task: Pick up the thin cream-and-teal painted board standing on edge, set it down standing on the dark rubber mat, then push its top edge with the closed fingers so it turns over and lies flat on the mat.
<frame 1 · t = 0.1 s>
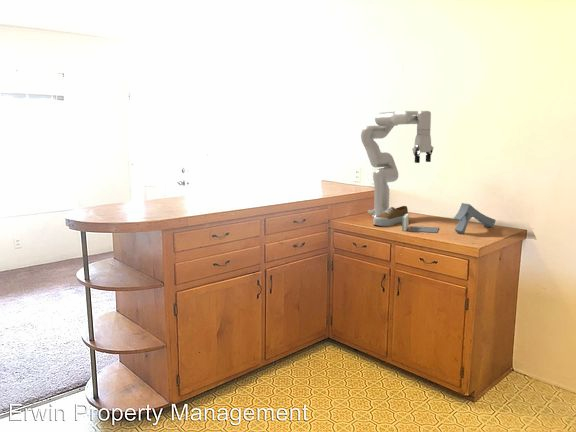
hand: (422, 162, 287), 37 cm above the table, tool pointing down, fingers open, 9 cm apart
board: (405, 229, 282), on the table
sneaker: (390, 223, 300), on the table
mat: (423, 229, 280), on the table
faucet: (474, 231, 276), on the table
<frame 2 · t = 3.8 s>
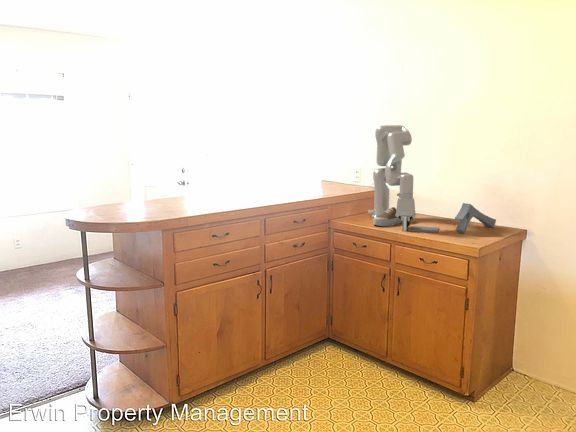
hand: (405, 227, 282), 1 cm above the table, tool pointing down, fingers closed on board
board: (405, 229, 282), on the table, touching gripper
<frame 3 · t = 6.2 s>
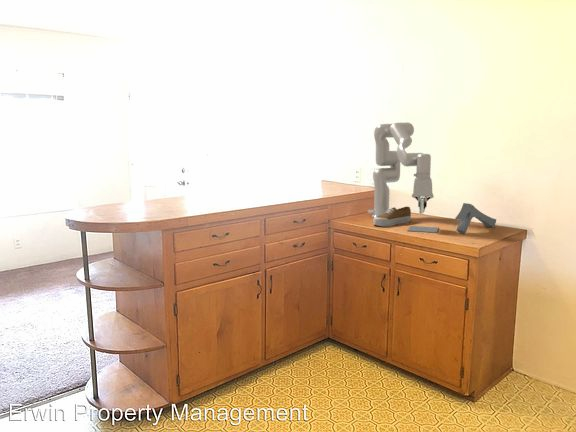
hand: (422, 208, 278), 12 cm above the table, tool pointing down, fingers closed on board
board: (422, 212, 278), point 10 cm above the table, touching gripper
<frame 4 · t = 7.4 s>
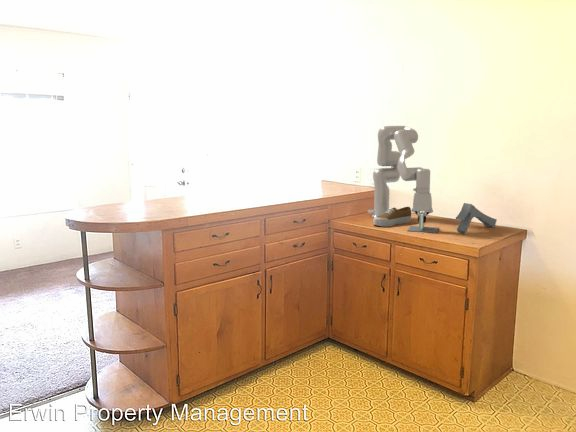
hand: (421, 222, 279), 4 cm above the table, tool pointing down, fingers closed on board, 1 cm apart
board: (421, 226, 280), point 2 cm above the table, touching gripper
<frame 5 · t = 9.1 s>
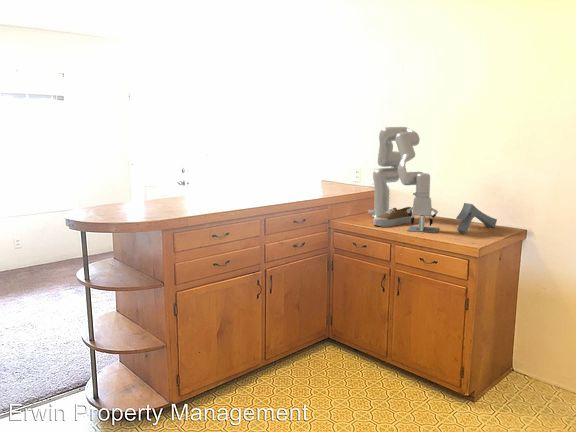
hand: (421, 224, 280), 3 cm above the table, tool pointing down, fingers open, 9 cm apart
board: (421, 228, 280), resting on mat
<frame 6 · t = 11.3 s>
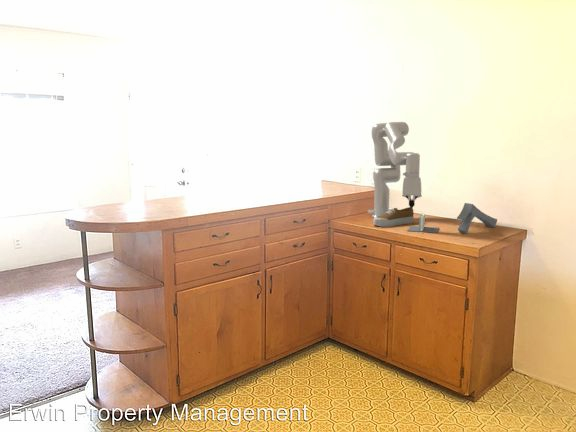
hand: (411, 207, 280), 13 cm above the table, tool pointing down, fingers closed
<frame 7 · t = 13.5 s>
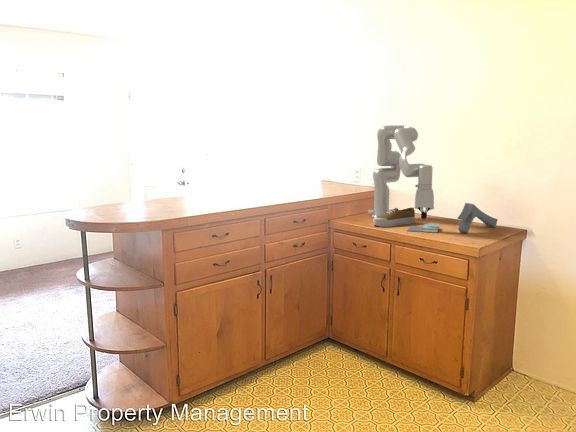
hand: (423, 219, 279), 6 cm above the table, tool pointing down, fingers closed
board: (423, 227, 279), point 1 cm above the table, tilted 90°, touching mat
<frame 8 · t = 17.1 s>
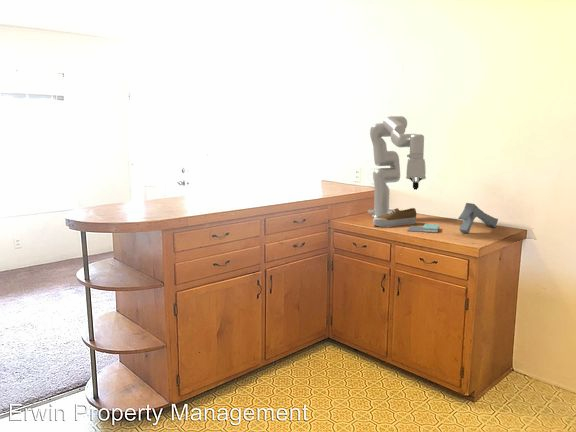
hand: (415, 189, 277), 23 cm above the table, tool pointing down, fingers closed
at the end: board tilted 90°; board inside the target area (0.9 cm from its centre), point 1.3 cm above the table; the gripper is holding nothing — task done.
